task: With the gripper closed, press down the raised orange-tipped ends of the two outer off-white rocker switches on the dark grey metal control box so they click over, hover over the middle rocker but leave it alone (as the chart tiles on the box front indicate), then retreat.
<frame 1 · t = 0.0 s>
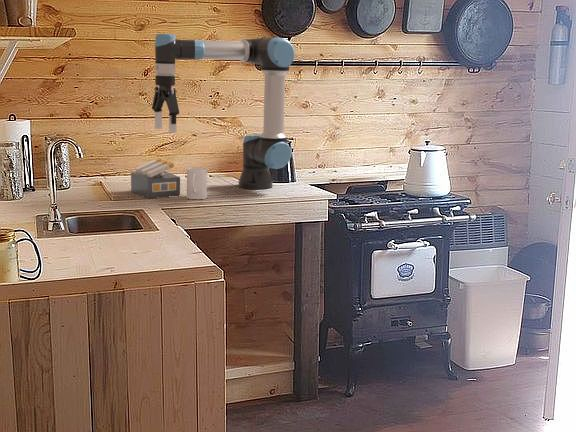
hand: (165, 130, 296), 28 cm above the table, fingers open, 13 cm apart
rocker B: (154, 167, 314), point 11 cm above the table, hinge at 20.0°
rocker A: (148, 165, 318), point 11 cm above the table, hinge at 20.0°
mug: (195, 199, 309), on the table
control box: (155, 193, 316), on the table
rocker C: (160, 169, 309), point 11 cm above the table, hinge at 20.0°
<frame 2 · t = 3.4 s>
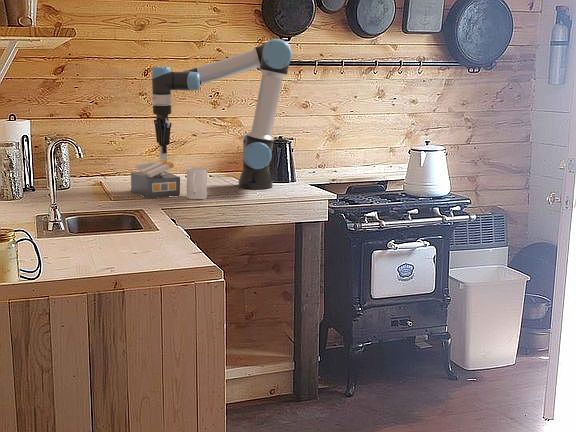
hand: (163, 160, 322), 13 cm above the table, fingers closed
rocker A: (149, 165, 319), point 11 cm above the table, hinge at 5.2°, touching gripper
everything else where it was.
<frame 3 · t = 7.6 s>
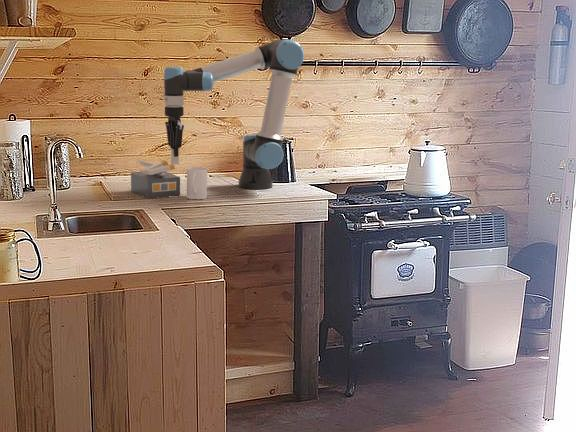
hand: (175, 164, 312), 13 cm above the table, fingers closed
rocker A: (150, 165, 319), point 11 cm above the table, hinge at -17.3°
rocker C: (160, 169, 309), point 11 cm above the table, hinge at 9.5°, touching gripper
everything else where it was.
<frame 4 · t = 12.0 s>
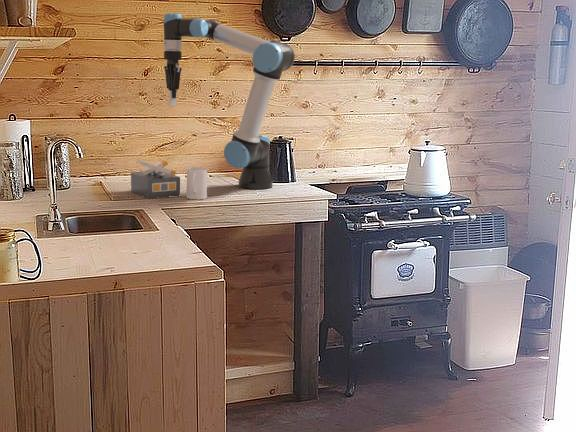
hand: (172, 105, 334), 34 cm above the table, fingers closed
rocker C: (161, 169, 309), point 11 cm above the table, hinge at -17.7°
everything else where it was.
at the end: rocker A at -17° (first picture: +20°); rocker C at -18° (first picture: +20°); rocker B at +20° (first picture: +20°) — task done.
